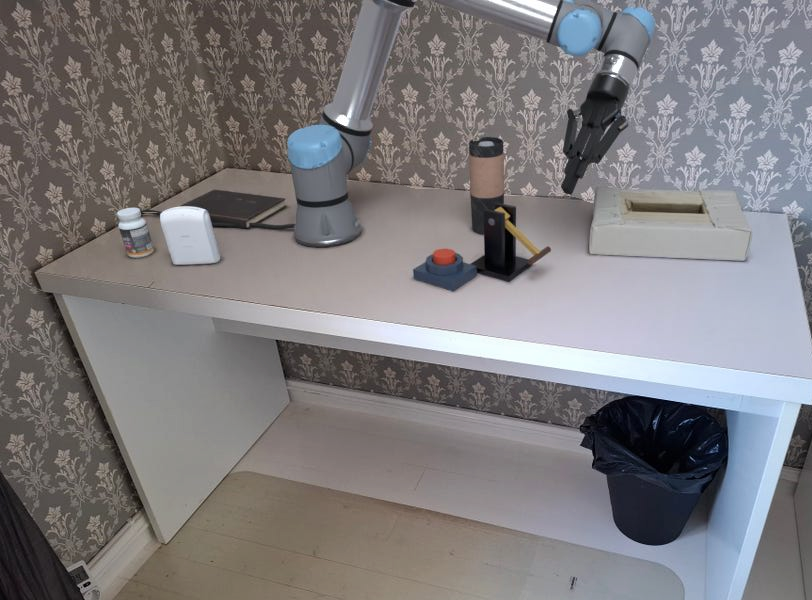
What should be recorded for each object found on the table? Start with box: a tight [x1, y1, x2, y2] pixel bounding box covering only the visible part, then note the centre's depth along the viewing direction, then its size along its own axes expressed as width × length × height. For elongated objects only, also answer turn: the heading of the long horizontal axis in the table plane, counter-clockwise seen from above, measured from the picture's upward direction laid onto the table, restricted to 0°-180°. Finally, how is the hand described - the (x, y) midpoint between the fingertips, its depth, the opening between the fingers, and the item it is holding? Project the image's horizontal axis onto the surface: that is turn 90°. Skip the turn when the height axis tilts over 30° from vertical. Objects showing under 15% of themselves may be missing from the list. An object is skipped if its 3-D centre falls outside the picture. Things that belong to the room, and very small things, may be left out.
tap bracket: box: [470, 203, 533, 283], centre depth 136 cm, size 10×9×13 cm
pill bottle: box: [116, 207, 155, 259], centre depth 150 cm, size 6×6×10 cm
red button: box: [432, 248, 456, 265], centre depth 134 cm, size 4×4×2 cm
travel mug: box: [468, 136, 505, 235], centre depth 152 cm, size 8×8×20 cm
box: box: [588, 186, 753, 262], centre depth 148 cm, size 23×8×32 cm
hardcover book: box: [178, 188, 288, 230], centre depth 172 cm, size 16×23×2 cm
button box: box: [412, 252, 478, 292], centre depth 136 cm, size 10×8×4 cm
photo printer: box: [159, 205, 221, 266], centre depth 144 cm, size 10×4×12 cm, turn 90°
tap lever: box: [494, 207, 552, 266], centre depth 133 cm, size 13×7×2 cm
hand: (566, 190), depth 133 cm, fingers closed
